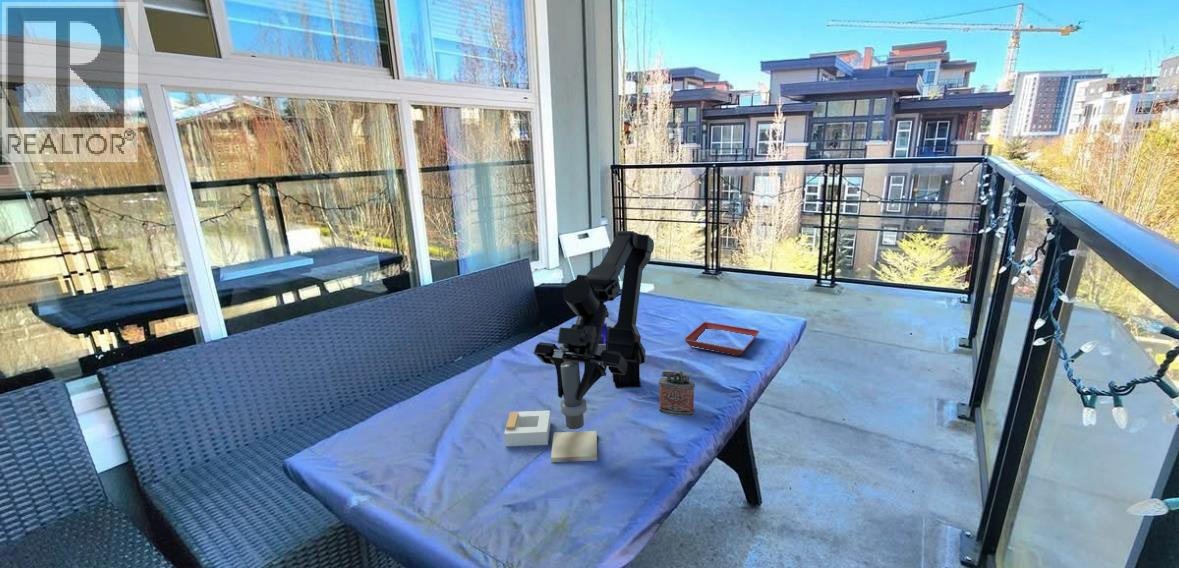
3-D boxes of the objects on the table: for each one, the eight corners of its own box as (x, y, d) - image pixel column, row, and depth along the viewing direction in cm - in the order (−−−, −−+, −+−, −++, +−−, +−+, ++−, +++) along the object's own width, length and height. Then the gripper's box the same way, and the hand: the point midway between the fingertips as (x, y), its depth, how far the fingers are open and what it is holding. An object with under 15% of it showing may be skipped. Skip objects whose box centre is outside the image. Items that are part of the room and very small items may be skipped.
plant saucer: (759, 339, 155) (760, 329, 154) (743, 360, 140) (743, 349, 139) (703, 331, 164) (704, 321, 164) (683, 349, 150) (683, 339, 149)
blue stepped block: (593, 340, 159) (592, 323, 158) (607, 340, 159) (606, 323, 157) (588, 355, 148) (587, 336, 146) (603, 355, 147) (602, 336, 146)
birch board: (596, 435, 105) (596, 430, 105) (597, 460, 97) (597, 455, 96) (554, 436, 105) (553, 432, 105) (551, 462, 97) (550, 457, 96)
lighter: (695, 410, 114) (695, 370, 111) (693, 417, 111) (693, 376, 108) (660, 405, 116) (660, 366, 114) (657, 413, 113) (657, 372, 111)
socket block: (550, 422, 111) (549, 407, 110) (547, 444, 103) (546, 428, 102) (511, 424, 111) (510, 409, 110) (505, 446, 103) (503, 430, 102)
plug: (582, 415, 103) (577, 357, 100) (591, 427, 98) (586, 366, 95) (558, 421, 101) (553, 362, 98) (567, 434, 97) (561, 372, 94)
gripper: (534, 305, 101) (509, 377, 94) (620, 313, 94) (600, 392, 87) (554, 328, 110) (533, 396, 103) (635, 337, 103) (617, 411, 96)
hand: (568, 398), depth 97 cm, fingers closed on plug, 4 cm apart
